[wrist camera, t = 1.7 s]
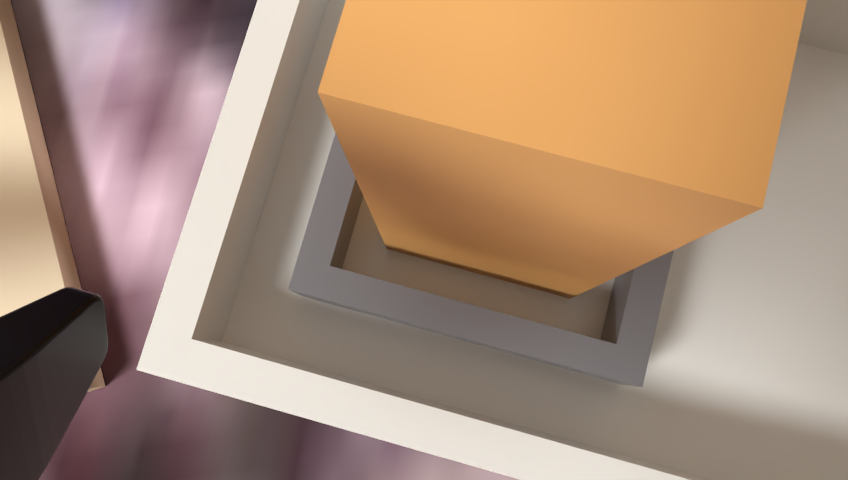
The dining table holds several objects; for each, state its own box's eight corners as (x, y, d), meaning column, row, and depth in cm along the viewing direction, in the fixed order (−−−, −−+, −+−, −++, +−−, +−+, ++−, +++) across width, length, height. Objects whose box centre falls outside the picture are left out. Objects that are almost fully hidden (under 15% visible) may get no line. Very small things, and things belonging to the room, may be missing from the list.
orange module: (570, 298, 20) (762, 207, 8) (386, 248, 20) (317, 92, 9) (614, 121, 21) (848, -198, 9) (436, 75, 21) (436, -292, 9)
